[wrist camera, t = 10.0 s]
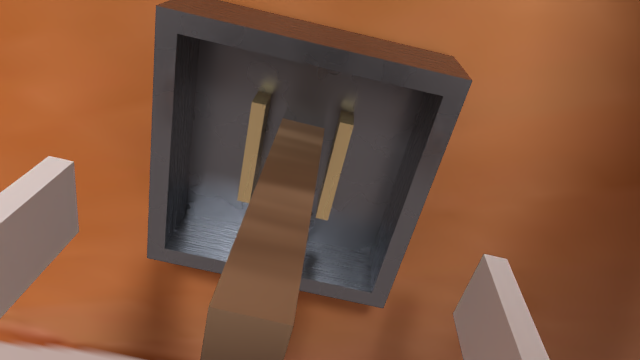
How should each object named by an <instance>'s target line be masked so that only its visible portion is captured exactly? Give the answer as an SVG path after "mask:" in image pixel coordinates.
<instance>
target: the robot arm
mask: <svg viewBox="0 0 640 360" xmlns="http://www.w3.org/2000/svg"><path fill="white" fill-rule="evenodd" d="M78 232H79V226H78V212H77V199H76V185H75V171H74V162H73V161H69V160H65V159H60V158H56V157H51V156H48V157H47V158H46V159H44V160H43V161H42V162H40V163H39V164H38V165H36V166H35V167H34V168H32V169H31V170H30V171H28V172H27V173H26V174H24V175H23V176H22V177H21V178H19V179H18V180H17V181H15V182H14V183H13V184H11V185H10V186H9V187H7V188H6V189H5V190H3V191H2V192H1V193H0V318H1V317H2V316H3V315H4V314H5V313H6V312H7V310H8V309H9V308H10V307H11V306H12V305H13V304H14V303H15V302H16V301H17V299H18V298H19V297H20V296H21V295H22V294H23V293H24V292H25V291H26V289H27V288H28V287H29V286H30V285H31V284H32V283H33V282H34V281H35V280H36V278H37V277H38V276H39V275H40V274H41V273H42V272H43V271H44V270H45V269H46V267H47V266H48V265H49V264H50V263H51V262H52V261H53V260H54V259H55V257H56V256H57V255H58V254H59V253H60V252H61V251H62V250H63V249H64V248H65V246H66V245H67V244H68V243H69V242H70V241H71V240H72V239H73V238H74V237H75V235H76V234H77V233H78ZM453 317H454V321H455V325H456V330H457V334H458V338H459V343H460V347H461V352H462V356H463V360H550V359H549V357H548V355H547V352H546V350H545V348H544V345H543V343H542V341H541V338H540V336H539V334H538V331H537V329H536V326H535V324H534V322H533V319H532V317H531V315H530V312H529V310H528V308H527V305H526V303H525V300H524V298H523V296H522V293H521V291H520V289H519V286H518V284H517V282H516V279H515V277H514V274H513V272H512V270H511V267H510V265H509V263H508V260H507V259H505V258H500V257H496V256H491V255H487V254H483V256H482V258H481V260H480V262H479V264H478V266H477V268H476V270H475V272H474V274H473V276H472V278H471V280H470V282H469V283H468V285H467V287H466V289H465V291H464V293H463V295H462V297H461V299H460V301H459V303H458V305H457V307H456V309H455V311H454V312H453Z"/></svg>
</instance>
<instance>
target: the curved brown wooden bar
mask: <svg viewBox="0 0 640 360" xmlns="http://www.w3.org/2000/svg"><path fill="white" fill-rule="evenodd" d="M324 130H325V128H321V127H317V126H313V125H309V124H305V123H300V122H296V121H292V120H288V119H284V118H283V119H282V121H281V124H280V126H279V129H278V131H277V134H276V136H275V139H274V141H273V144H272V147H271V149H270V152H269V154H268V157H267V159H266V162H265V164H264V167H263V169H262V172H261V175H260V177H259V180H258V182H257V185H256V187H255V190H254V192H253V195H252V198H251V200H250V203H249V205H248V208H247V210H246V213H245V215H244V218H243V220H242V223H241V226H240V228H239V231H238V233H237V236H236V238H235V241H234V243H233V246H232V248H231V251H230V254H229V256H228V259H227V261H226V264H225V266H224V269H223V271H222V274H221V277H220V279H219V282H218V284H217V287H216V289H215V292H214V294H213V297H212V299H211V302H210V305H209V308H208V314H207V320H206V327H205V333H204V340H203V346H202V352H201V359H200V360H284V357H285V353H286V350H287V346H288V343H289V339H290V336H291V333H292V329H293V326H294V319H295V313H296V307H297V301H298V294H299V288H300V282H301V275H302V269H303V263H304V256H305V250H306V244H307V238H308V231H309V225H310V219H311V212H312V206H313V200H314V193H315V187H316V181H317V174H318V168H319V162H320V156H321V149H322V143H323V137H324Z"/></svg>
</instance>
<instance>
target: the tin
mask: <svg viewBox="0 0 640 360" xmlns="http://www.w3.org/2000/svg"><path fill="white" fill-rule="evenodd" d="M471 83H472V79H471V78H470V77H469V76H468V74H467V73H466V72H465V70H464V69H463V68H462V67H461V65H460V64H459V63H458V61H457V60H456V59H455V58H454V57H453V56H449V55H445V54H441V53H437V52H433V51H428V50H424V49H420V48H416V47H412V46H407V45H403V44H399V43H395V42H391V41H387V40H382V39H378V38H374V37H370V36H366V35H361V34H357V33H353V32H349V31H345V30H341V29H336V28H332V27H328V26H324V25H320V24H315V23H311V22H307V21H303V20H299V19H295V18H290V17H286V16H282V15H278V14H274V13H269V12H265V11H261V10H257V9H253V8H249V7H244V6H240V5H236V4H232V3H228V2H223V1H219V0H170V1H167V2H164V3H162V4H159V5H156V21H155V49H154V77H153V105H152V133H151V161H150V189H149V217H148V245H147V258H150V259H154V260H159V261H164V262H168V263H173V264H178V265H182V266H187V267H192V268H196V269H201V270H206V271H211V272H215V273H220V274H222V271H223V269H224V266H225V264H226V261H227V259H228V256H229V254H230V251H231V248H232V246H233V243H234V241H235V238H236V236H237V233H238V231H239V228H240V226H241V223H242V220H243V218H244V215H245V213H246V210H247V208H248V205H249V203H250V200H251V198H252V195H253V192H254V190H255V187H256V185H257V182H258V180H259V177H260V175H261V172H262V169H263V167H264V164H265V162H266V159H267V157H268V154H269V152H270V149H271V147H272V144H273V141H274V139H275V136H276V134H277V131H278V129H279V126H280V124H281V121H282V119H283V118H284V119H288V120H292V121H296V122H300V123H305V124H309V125H313V126H317V127H321V128H325V130H324V137H323V143H322V149H321V156H320V162H319V168H318V174H317V181H316V187H315V193H314V200H313V206H312V212H311V219H310V225H309V231H308V238H307V244H306V250H305V256H304V263H303V269H302V275H301V282H300V288H299V290H300V291H304V292H309V293H314V294H318V295H323V296H328V297H333V298H337V299H342V300H347V301H351V302H356V303H361V304H365V305H370V306H375V307H379V308H384V305H385V303H386V300H387V298H388V295H389V292H390V290H391V287H392V285H393V282H394V280H395V277H396V275H397V272H398V269H399V267H400V264H401V262H402V259H403V257H404V254H405V252H406V249H407V246H408V244H409V241H410V239H411V236H412V234H413V231H414V229H415V226H416V223H417V221H418V218H419V216H420V213H421V211H422V208H423V206H424V203H425V200H426V198H427V195H428V193H429V190H430V188H431V185H432V182H433V180H434V177H435V175H436V172H437V170H438V167H439V165H440V162H441V159H442V157H443V154H444V152H445V149H446V147H447V144H448V142H449V139H450V136H451V134H452V131H453V129H454V126H455V124H456V121H457V119H458V116H459V113H460V111H461V108H462V106H463V103H464V101H465V98H466V96H467V93H468V90H469V88H470V85H471Z"/></svg>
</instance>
